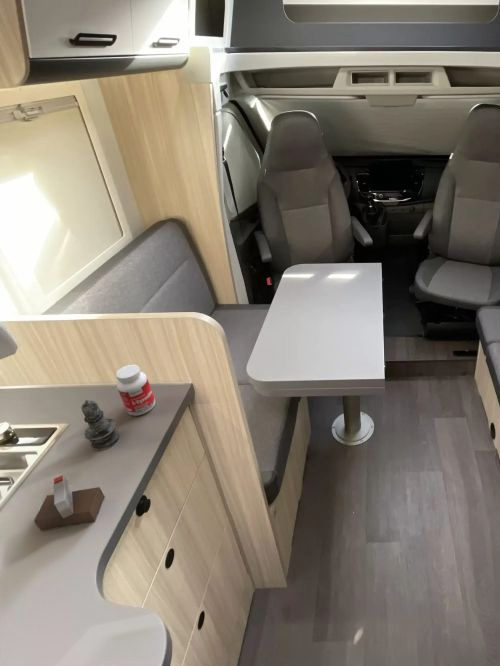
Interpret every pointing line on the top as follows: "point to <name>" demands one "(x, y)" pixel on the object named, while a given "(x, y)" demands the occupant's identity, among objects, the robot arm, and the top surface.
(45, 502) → the brown block
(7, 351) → the robot arm
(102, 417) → the dark chess piece
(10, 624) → the top surface
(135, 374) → the pill bottle
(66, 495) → the grey rectangular block
